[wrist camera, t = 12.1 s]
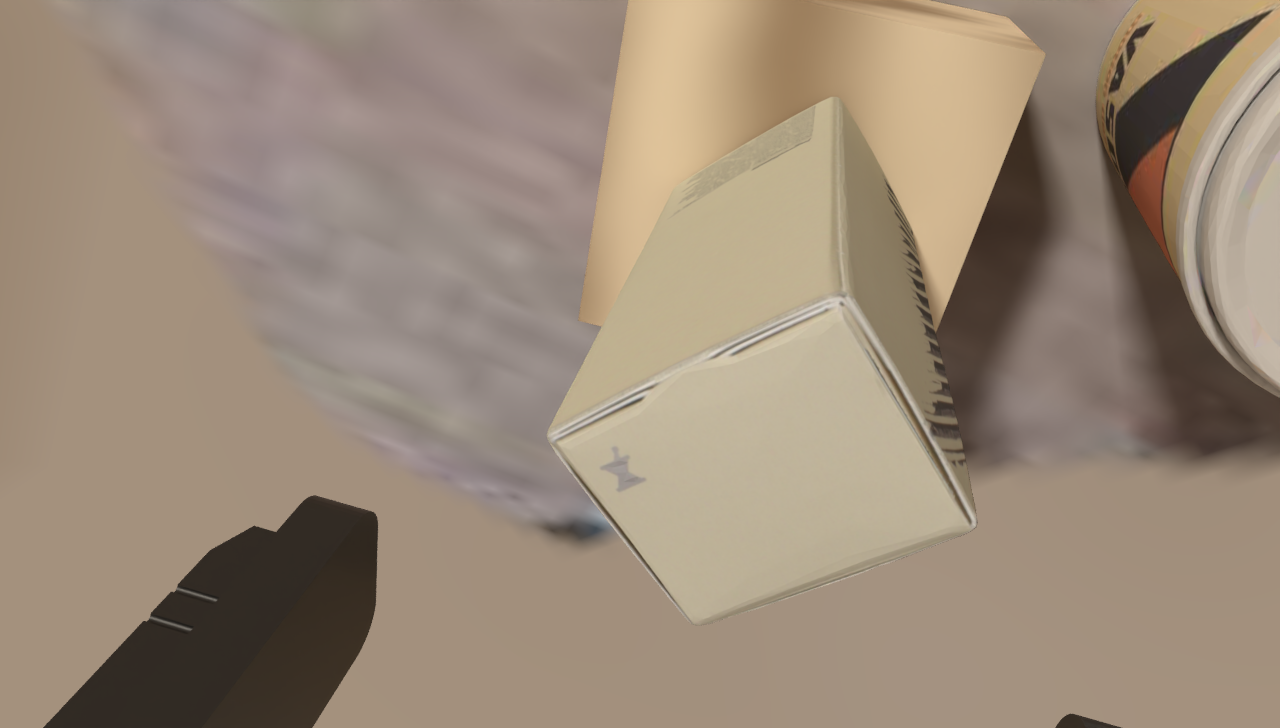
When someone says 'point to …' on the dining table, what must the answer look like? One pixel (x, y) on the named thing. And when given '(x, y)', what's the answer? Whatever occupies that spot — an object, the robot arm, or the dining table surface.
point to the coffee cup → (1205, 159)
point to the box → (771, 381)
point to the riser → (796, 80)
